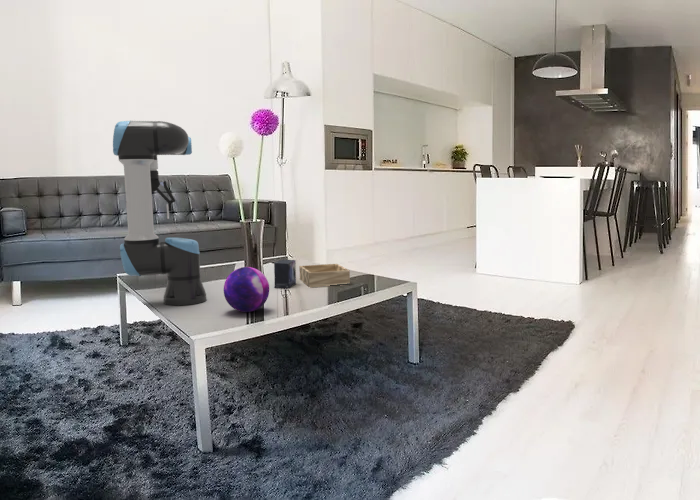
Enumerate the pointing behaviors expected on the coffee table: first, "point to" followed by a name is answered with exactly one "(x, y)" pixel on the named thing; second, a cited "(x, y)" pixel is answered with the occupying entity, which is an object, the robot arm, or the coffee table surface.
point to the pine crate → (324, 275)
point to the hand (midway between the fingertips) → (152, 219)
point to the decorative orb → (246, 289)
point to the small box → (285, 273)
